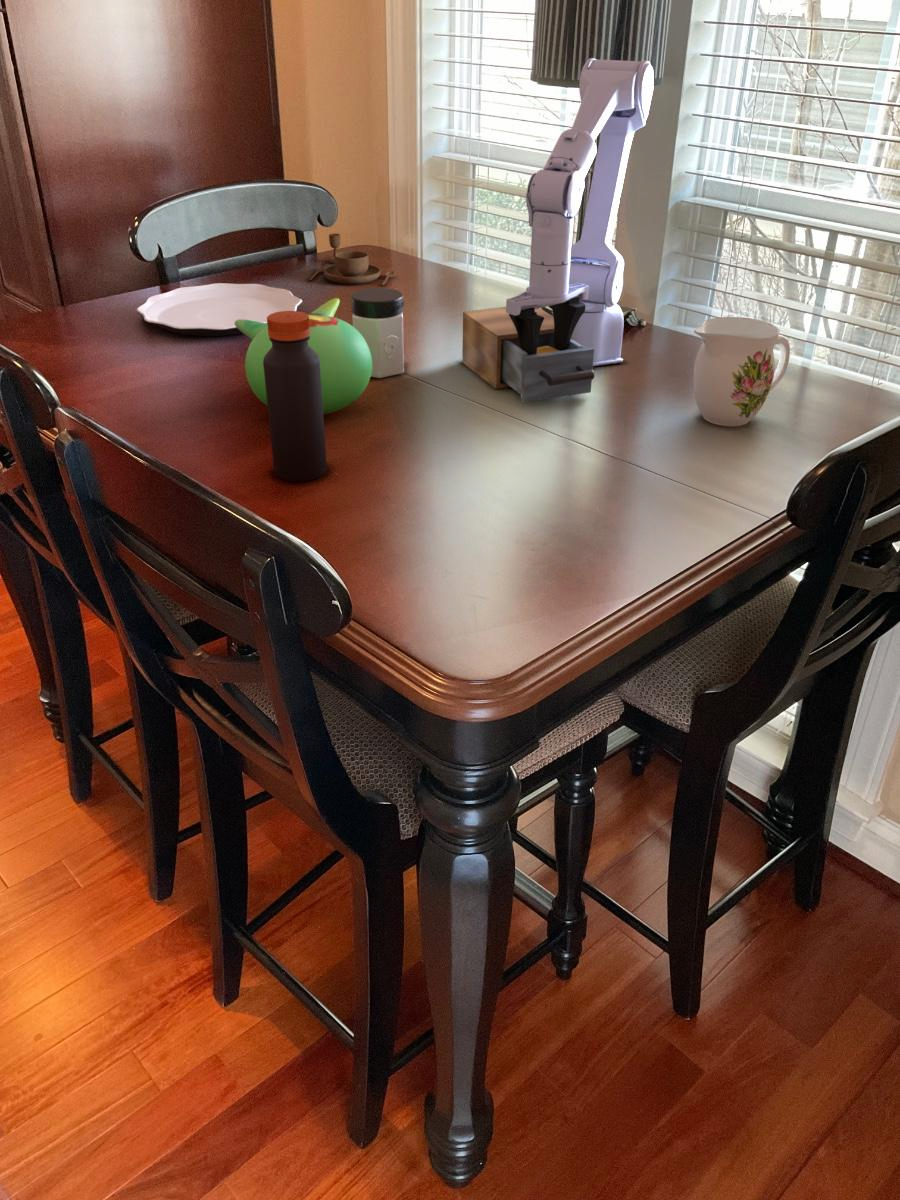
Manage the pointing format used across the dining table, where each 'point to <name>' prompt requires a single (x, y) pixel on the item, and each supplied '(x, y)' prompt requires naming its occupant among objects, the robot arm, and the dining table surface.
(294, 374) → the bottle
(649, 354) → the dining table surface
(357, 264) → the place setting
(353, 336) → the toy bird
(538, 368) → the grey wooden drawer
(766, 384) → the pitcher
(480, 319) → the wooden drawer box
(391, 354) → the jar
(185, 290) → the plate
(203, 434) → the dining table surface
